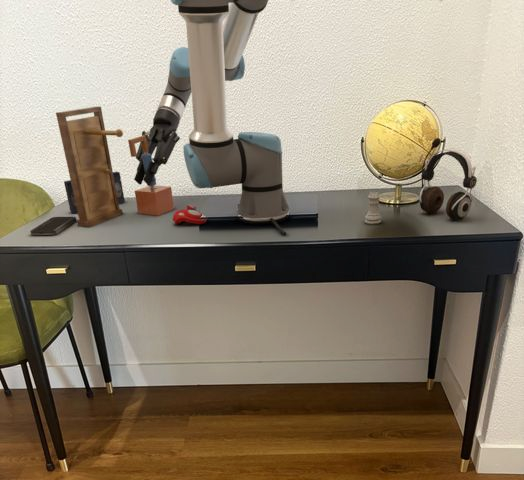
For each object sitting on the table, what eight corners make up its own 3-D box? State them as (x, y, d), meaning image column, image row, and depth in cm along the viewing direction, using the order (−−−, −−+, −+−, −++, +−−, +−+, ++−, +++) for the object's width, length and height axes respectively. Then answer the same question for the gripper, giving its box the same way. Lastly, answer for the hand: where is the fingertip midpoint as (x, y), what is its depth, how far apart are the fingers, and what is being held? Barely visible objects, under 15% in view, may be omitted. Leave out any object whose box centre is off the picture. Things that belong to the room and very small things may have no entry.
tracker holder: (213, 218, 154) (182, 216, 148) (210, 232, 156) (179, 231, 151) (195, 200, 162) (165, 198, 156) (192, 214, 164) (162, 212, 158)
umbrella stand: (154, 206, 174) (151, 184, 170) (174, 209, 170) (171, 186, 167) (138, 213, 168) (134, 190, 164) (158, 215, 164) (154, 192, 161)
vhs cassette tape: (73, 214, 171) (66, 182, 166) (69, 212, 173) (62, 180, 168) (125, 202, 180) (120, 172, 175) (122, 201, 182) (116, 171, 178)
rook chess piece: (382, 220, 148) (383, 191, 144) (379, 225, 144) (381, 195, 140) (365, 219, 149) (367, 190, 145) (363, 224, 146) (364, 194, 142)
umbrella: (155, 208, 170) (142, 134, 159) (163, 209, 169) (150, 135, 157) (140, 215, 165) (125, 139, 153) (147, 216, 164) (133, 140, 152)
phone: (77, 216, 163) (54, 231, 150) (77, 220, 164) (55, 235, 151) (52, 216, 164) (28, 231, 151) (53, 220, 165) (29, 235, 152)
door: (112, 212, 170) (92, 106, 155) (153, 217, 162) (136, 106, 147) (77, 225, 159) (52, 112, 144) (119, 231, 151) (98, 112, 136)
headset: (408, 212, 153) (415, 138, 143) (427, 207, 157) (434, 135, 147) (458, 225, 141) (469, 144, 131) (477, 219, 144) (488, 140, 135)
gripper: (195, 124, 165) (169, 191, 160) (155, 123, 172) (129, 187, 167) (183, 107, 158) (155, 176, 154) (141, 107, 165) (114, 173, 161)
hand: (142, 182), depth 161 cm, fingers closed on umbrella, 3 cm apart
